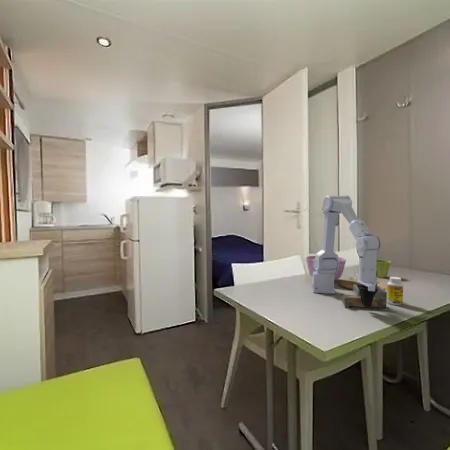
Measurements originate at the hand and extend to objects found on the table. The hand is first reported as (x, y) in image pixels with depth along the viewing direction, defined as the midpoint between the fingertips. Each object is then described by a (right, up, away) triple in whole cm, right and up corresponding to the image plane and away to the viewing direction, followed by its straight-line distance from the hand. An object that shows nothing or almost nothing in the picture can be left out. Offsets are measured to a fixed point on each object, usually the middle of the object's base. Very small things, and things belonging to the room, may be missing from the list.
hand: (366, 305), depth 113 cm
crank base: (+8, -2, +5) cm, 9 cm away
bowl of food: (+1, 0, +49) cm, 49 cm away
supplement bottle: (+16, -2, +11) cm, 19 cm away
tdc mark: (-1, -1, +18) cm, 18 cm away
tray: (+12, -1, +23) cm, 25 cm away
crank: (+2, -2, +6) cm, 6 cm away
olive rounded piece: (+12, -1, +21) cm, 24 cm away
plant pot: (+35, +1, +58) cm, 68 cm away
